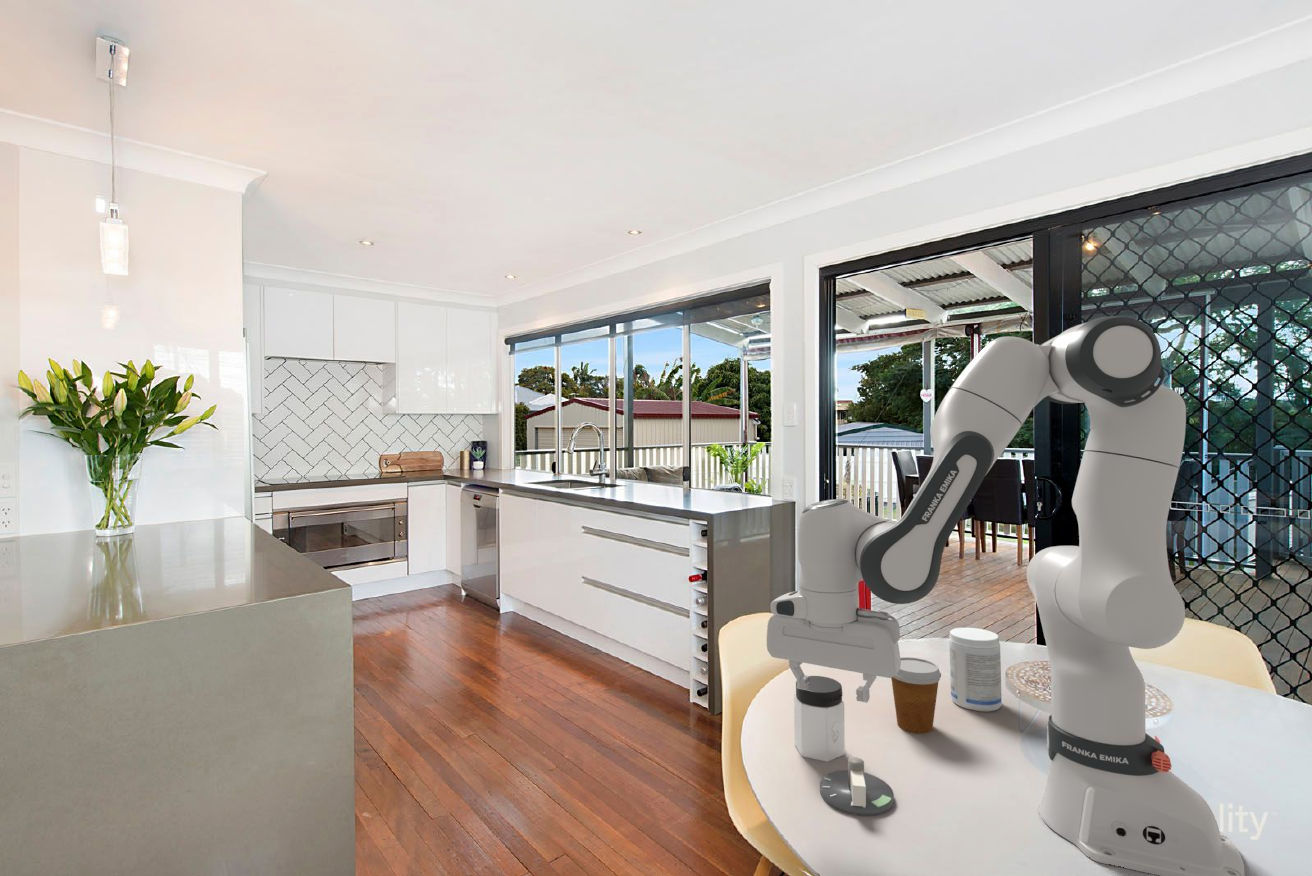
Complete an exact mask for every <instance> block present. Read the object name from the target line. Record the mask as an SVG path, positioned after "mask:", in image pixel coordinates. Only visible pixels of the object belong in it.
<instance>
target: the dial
mask: <svg viewBox="0 0 1312 876" xmlns="http://www.w3.org/2000/svg"><path fill="white" fill-rule="evenodd" d="M864 781H865V786H866V807H862V806H853V801H852V795H851V789H850V788H849V787H848V769H847V770H846V769H845V770H844V769H843V770H836V771H835V770H834V771H831V772H828V773H827V774H825V775H823V777H822V778H820V781H819V794H820V796H821V798H822V799H823V801H824V802H825V803H827V804H828V805H829V806H830V807H832V808H834V809H835V810H837V811H840V812H842V813H846V814H849V815H853V816H859V817H875V816H880V815H883V814H886V813H887V812H889V811H890V810H891V809H892V808H893V806H894V803H895V799H894V798H895V795H894V791H893V789H892V787H891V786H890V784H889V783H887V782H886V781H884V780H883V779H881V778H880V777H878V776H876V775H873V774H871V773H867V772H864Z"/></svg>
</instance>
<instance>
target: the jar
mask: <svg viewBox="0 0 1312 876" xmlns="http://www.w3.org/2000/svg"><path fill="white" fill-rule="evenodd" d="M808 676H809V683H810V686H809V688H808V689H807V690H802V689H797V680H796V681H795V694H794V696H793V701H794V702H793V703H794V706H793V709H794V710H793V711H794V721H793V722H794V723H793V724H794V746H795V747H796V749H797V751H798V752H799V754H800V755H801V757H804V758H807V759H812V760H817V761H821V762H827V763H828V762H830V761H833V760H835V759H838V758H840V757H842V756H844V755H845V754H846V753H845V741H846V740H845V737H846V735H845V702H844V701H843V686H842V684H841V683H840V682H839V681H838V680H836V679H834V678H831V677H828V676H827V677H826V676H822V675H808ZM837 757H838V758H837Z"/></svg>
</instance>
